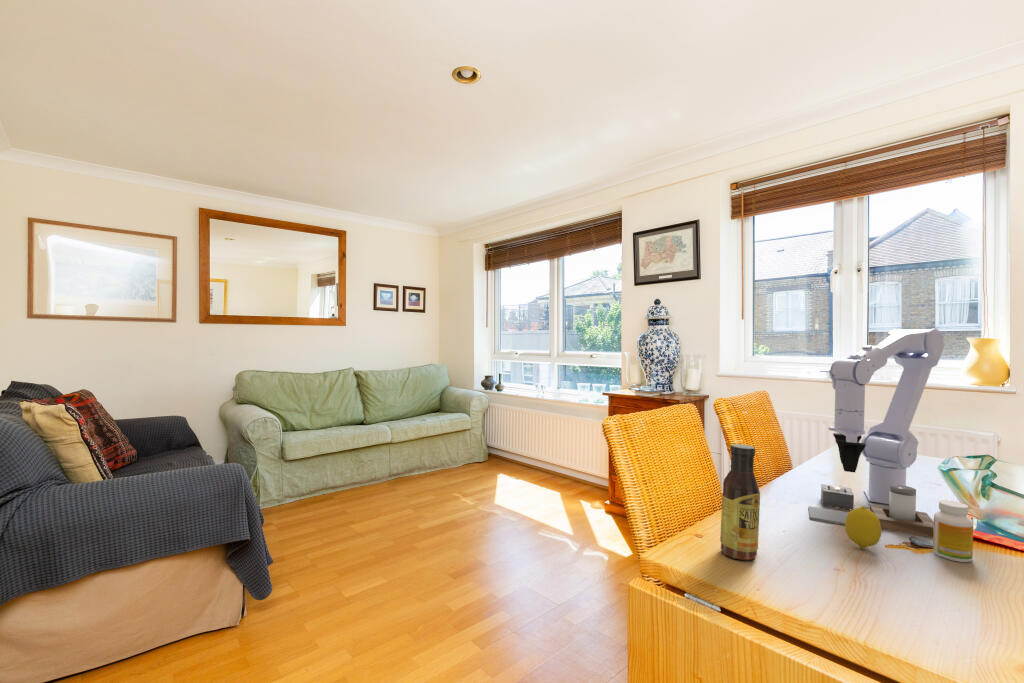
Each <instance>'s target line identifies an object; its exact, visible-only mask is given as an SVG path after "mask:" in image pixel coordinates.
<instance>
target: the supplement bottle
mask: <svg viewBox="0 0 1024 683" xmlns="http://www.w3.org/2000/svg"><path fill="white" fill-rule="evenodd" d="M938 509H939V511H936V512H934V514H933V522H934V525H933V537H932V551H933V553H934V554H935V555H937V556H939V557H940V558H944V559H947V560H949V561H952V562H953V561H954V562H958V563H970V562H972V561H973V557H974V556H973V552H974V551H973V549H974V546H973V545H974V521H973V520H972V519H971V518H970V517H969V516H968V515H969V506H968V505H966V503H961V502H958V501H954V500H939V501H938Z"/></svg>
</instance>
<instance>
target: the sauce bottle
mask: <svg viewBox="0 0 1024 683" xmlns="http://www.w3.org/2000/svg"><path fill="white" fill-rule="evenodd" d="M730 454H731V459H730V462H731V464H730V470H729V472H728V473H727V474H726V476H725V477H724V479H723V483H722V484H723V485H722V486H723V487H722V495H721V516H720V518H721V519H720V539H719V540H720V550H721V552H722V553H723V554H724V555H725V556H726V557H729V558H730V559H734V560H741V561H753V560H754V559H756V557H757V555H758V549H759V535H760V534H759V530H760V529H759V528H760V526H759V525H760V507H761V506H760V505H761V504H760V503H761V492H760V489H759V485H758V481H757V478H756V475H755V473H754V471H755V468H754V458H755V455H756V448H755V447H754V446H753V445H749V444H739V443H733V444H731V445H730Z"/></svg>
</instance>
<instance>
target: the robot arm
mask: <svg viewBox="0 0 1024 683" xmlns="http://www.w3.org/2000/svg"><path fill="white" fill-rule="evenodd" d="M944 349H945V341H944V336H943V334H942V332H941V330H939V329H937V328H931V329H926V328H925V329H922V328H921V329H920V328H919V329H917V328H916V329H911V328H910V329H900V328H893V329H892V330H891V331H888V332H887V335H886V338H885V339H884V340H882V341H881V342H880V343H878V344H877V345H868V344H867V345H866V344H865V345H863V346H862V347H861V350H858V351H856V353H851V354H850V356H848V357H847V358H839V359H836V360H835V361H833V363H831V365H830V369H829V370H828V371H829V372H828V373H829V378H830V379H831V382H832V388H833V390H834V422H833V423H834V424H833V426H827V427H828V428H827V430H828V431H833V432H834V433H832V435H833V437H834V438H835V443H836V444H837V448H838V452H839V458H840V463H841V464H842V467H843V468H842V469H843V472H848V473H856V471H857V469H858V465H859V459H860V457H861V455H862V456H863V457H864V458H865V461H866V462H867V463H868V466H869V467H868V489H865V488H864V489H863V492H864V494H865V496H866V498H867V500H868V501H869V502H871V503H872V502H873V503H877V504H878V503H879V504H885V505H889V495H890V485H903V486H907V468H911V466H912V465H913V464H914V463H915V462H916V460H917V455H918V451H917V450H918V445H919V441H918V438H917V437H916V436H915V435H914V434H913V433H912V432H911V431H910V427H911V425H912V422H913V419H914V417H915V415H916V412H917V408H918V407H919V404H920V401H921V398H922V396H923V393H924V390H925V388H926V385H927V382H928V380H929V377H930V375H931V371H932V369H933V368H934V367H937V366H938V363H939V362H940V359H941V356H942V353H943V351H944ZM890 357H893V359H894V361H895V363H896V364H897V365H899V366H901V367H902V368H903V370H902V373H901V375H900V377H899V380H898V383H897V385H896V388H895V391H894V393H893V396H892V398H891V401H890V403H889V406H888V408H887V410H886V414H885V416H884V419H883V422H881V423H879V424H876V425H873V426H871V427H869V429H868V432H867V434H866V430H865V407H866V406H865V403H866V402H865V401H866V400H865V398H866V397H865V394H866V384H868V383H869V382H870V381H871V379H872V376H873V375H874V374H875V373H876V371H878V370H880V369H881V368H884V367H885V366H886V365H887V363H888V359H889V358H890ZM863 435H864V436H863ZM862 436H863V438H862ZM861 439H862V440H861ZM860 441H861V442H860Z"/></svg>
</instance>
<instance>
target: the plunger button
mask: <svg viewBox="0 0 1024 683" xmlns="http://www.w3.org/2000/svg"><path fill="white" fill-rule="evenodd" d="M842 487H843V486H837V485H831V486H830V491H837V492H844V493H845V489H844V488H842Z"/></svg>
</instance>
